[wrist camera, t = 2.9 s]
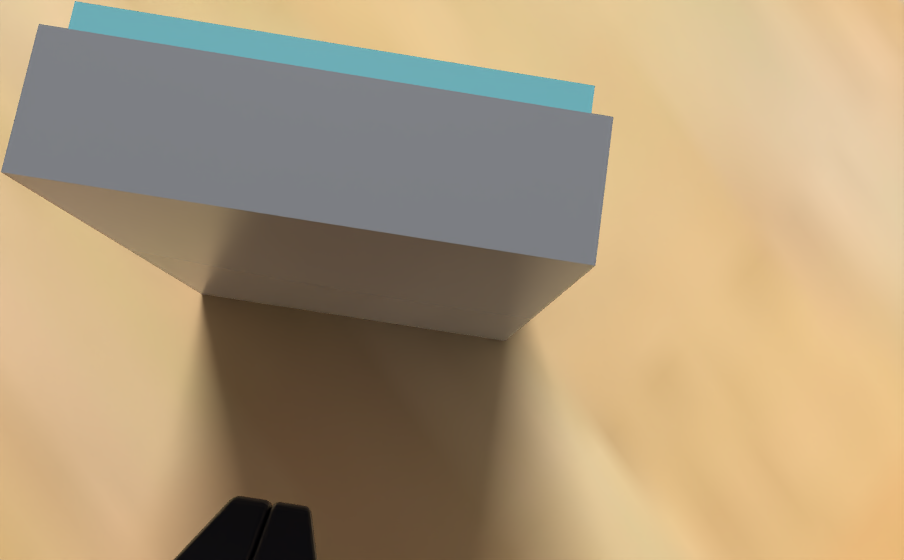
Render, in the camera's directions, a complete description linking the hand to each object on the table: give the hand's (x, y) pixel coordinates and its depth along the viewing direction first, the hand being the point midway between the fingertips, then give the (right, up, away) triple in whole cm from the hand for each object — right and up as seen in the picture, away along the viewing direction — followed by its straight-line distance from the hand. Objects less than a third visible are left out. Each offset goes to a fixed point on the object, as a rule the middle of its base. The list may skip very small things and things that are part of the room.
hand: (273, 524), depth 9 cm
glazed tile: (0, +3, +7) cm, 8 cm away
